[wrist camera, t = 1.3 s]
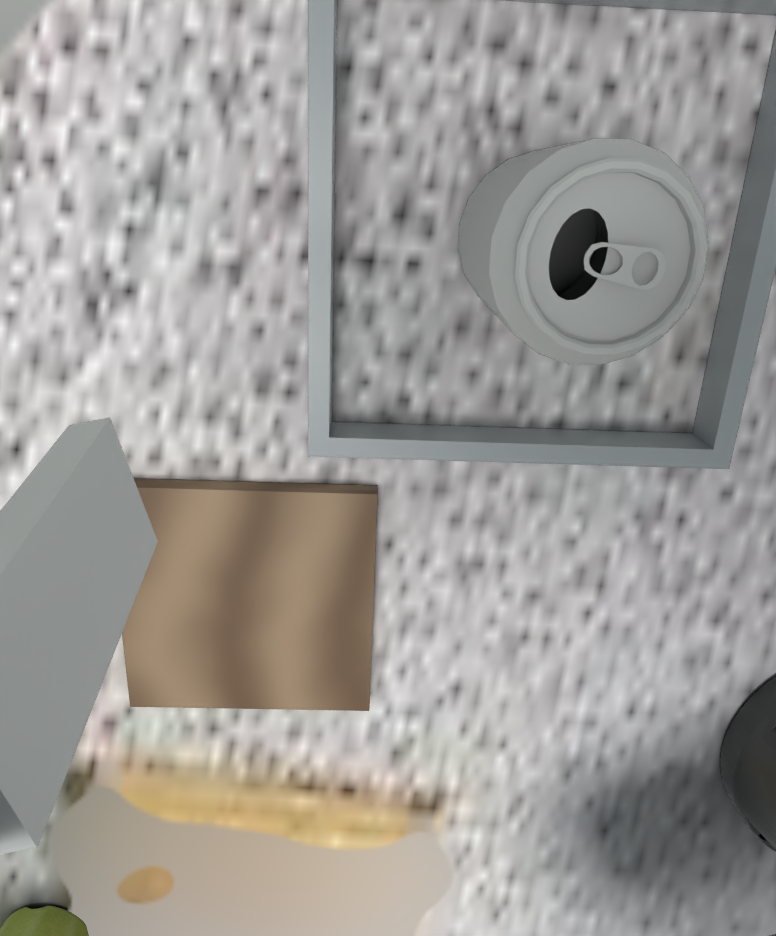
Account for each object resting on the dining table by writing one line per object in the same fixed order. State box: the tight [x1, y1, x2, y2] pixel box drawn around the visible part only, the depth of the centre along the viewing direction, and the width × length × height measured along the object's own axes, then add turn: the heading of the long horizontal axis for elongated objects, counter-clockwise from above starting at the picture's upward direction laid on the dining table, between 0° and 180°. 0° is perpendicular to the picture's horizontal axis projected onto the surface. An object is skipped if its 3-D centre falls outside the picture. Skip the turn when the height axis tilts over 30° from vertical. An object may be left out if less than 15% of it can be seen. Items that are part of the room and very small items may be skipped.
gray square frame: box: [308, 0, 776, 469], centre depth 33 cm, size 21×21×2 cm
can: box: [458, 138, 708, 365], centre depth 28 cm, size 8×8×12 cm
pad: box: [122, 478, 378, 711], centre depth 40 cm, size 14×14×1 cm
